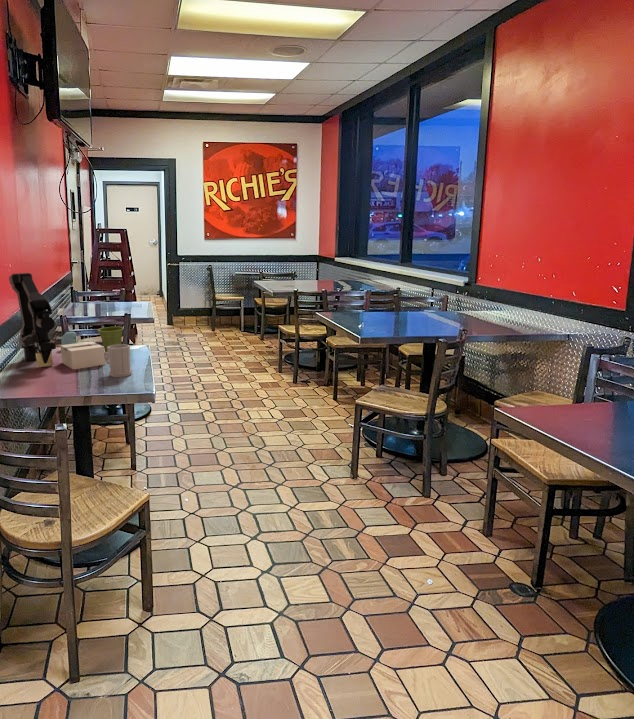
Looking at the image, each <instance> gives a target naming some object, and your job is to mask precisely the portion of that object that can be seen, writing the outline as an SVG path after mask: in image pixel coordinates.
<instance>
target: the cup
mask: <svg viewBox="0 0 634 719" xmlns="http://www.w3.org/2000/svg"><path fill="white" fill-rule="evenodd" d="M107 350H108V352H105V351H104V358H105V364H107V365H108V364H109V371H108V372H109V376H110V377H111V378H124V377H126V378H127V377H129V376H131V375H132V374H133V372H132V369H131V363H130V362H131V358H130V356H131V352H130V351H131V346H130V345H129V344H124V343H123V344H122V343H121V344H118V345H111V346H108V347H107Z"/></svg>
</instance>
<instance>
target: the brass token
mask: <svg viewBox="0 0 634 719" xmlns="http://www.w3.org/2000/svg"><path fill="white" fill-rule="evenodd" d="M35 361H36V367H37V368H42V367H51V366H53V365H54V362H53V354H52V351H51V353H50V356H49V359H48V361H47V363H45V364H44V362H43V358H42V355H41V352H38V353H36V360H35Z"/></svg>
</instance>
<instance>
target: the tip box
mask: <svg viewBox="0 0 634 719" xmlns="http://www.w3.org/2000/svg"><path fill="white" fill-rule="evenodd" d="M59 347H60V354H61V355H60V356H61V363H62V365H63V364H64V366H67V367H68V368H70V369H71V370H79V369H85V368H92V367H98V366H99V365H100V366H105V365H106V362H105V358H104V353H105V350H104V346H103V345H101V344H99V343H98V342H97V343H96V342H94V341H85V342H79V343H75V344H67V345H62V344H61V345H60V346H59ZM100 366H99V367H100Z"/></svg>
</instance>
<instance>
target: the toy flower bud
mask: <svg viewBox="0 0 634 719" xmlns="http://www.w3.org/2000/svg"><path fill="white" fill-rule="evenodd" d="M77 335H78V334H77V333H76V332H75V331H67V332H65V333H64V334H63V335H62V337H61V339H60V340H61V341H60V342H61V345H67V344H75V343H80V342H79V341H76V340H77V338H76V337H77Z"/></svg>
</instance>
